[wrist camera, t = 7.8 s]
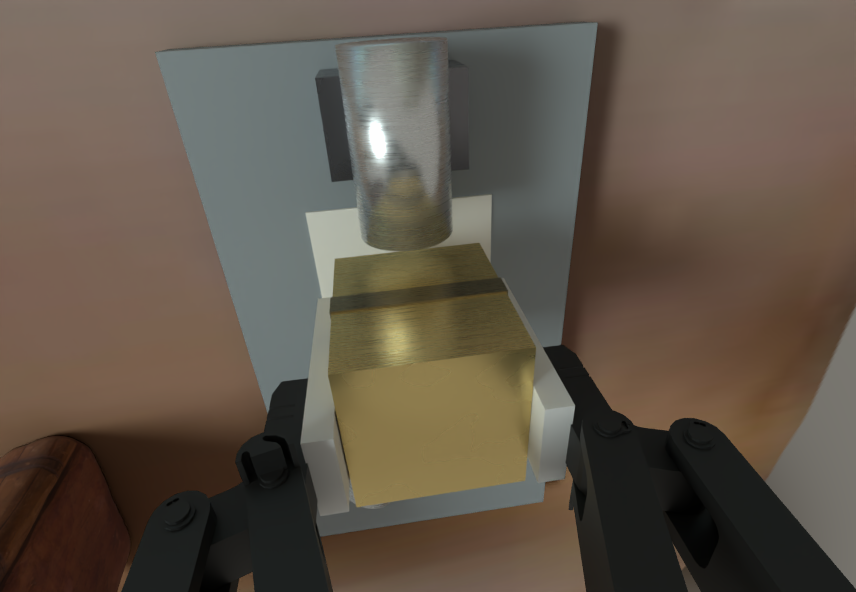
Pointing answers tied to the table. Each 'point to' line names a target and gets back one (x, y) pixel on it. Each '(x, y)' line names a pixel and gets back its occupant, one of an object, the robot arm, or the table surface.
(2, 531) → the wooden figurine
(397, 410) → the block
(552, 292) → the base plate
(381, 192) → the shaft
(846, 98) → the table surface
